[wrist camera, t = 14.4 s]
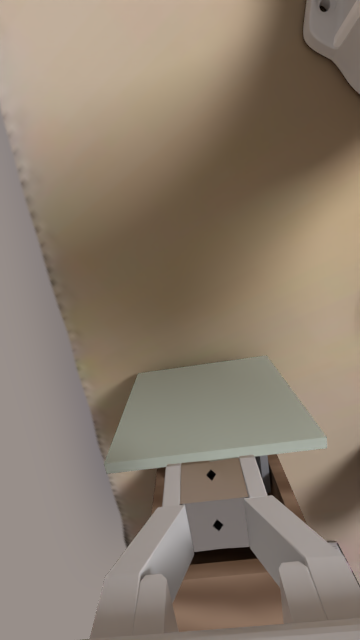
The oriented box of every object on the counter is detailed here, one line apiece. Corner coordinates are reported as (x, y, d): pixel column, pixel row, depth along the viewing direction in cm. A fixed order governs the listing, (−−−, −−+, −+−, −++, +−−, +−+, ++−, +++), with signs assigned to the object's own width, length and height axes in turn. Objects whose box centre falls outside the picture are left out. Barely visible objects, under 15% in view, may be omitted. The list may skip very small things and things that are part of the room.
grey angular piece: (138, 373, 30) (103, 463, 18) (266, 355, 29) (326, 437, 17) (162, 484, 34) (148, 623, 22) (276, 471, 33) (331, 608, 21)
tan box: (158, 456, 35) (142, 583, 22) (271, 442, 34) (325, 567, 21) (179, 551, 39) (175, 706, 26) (280, 541, 38) (330, 697, 25)
